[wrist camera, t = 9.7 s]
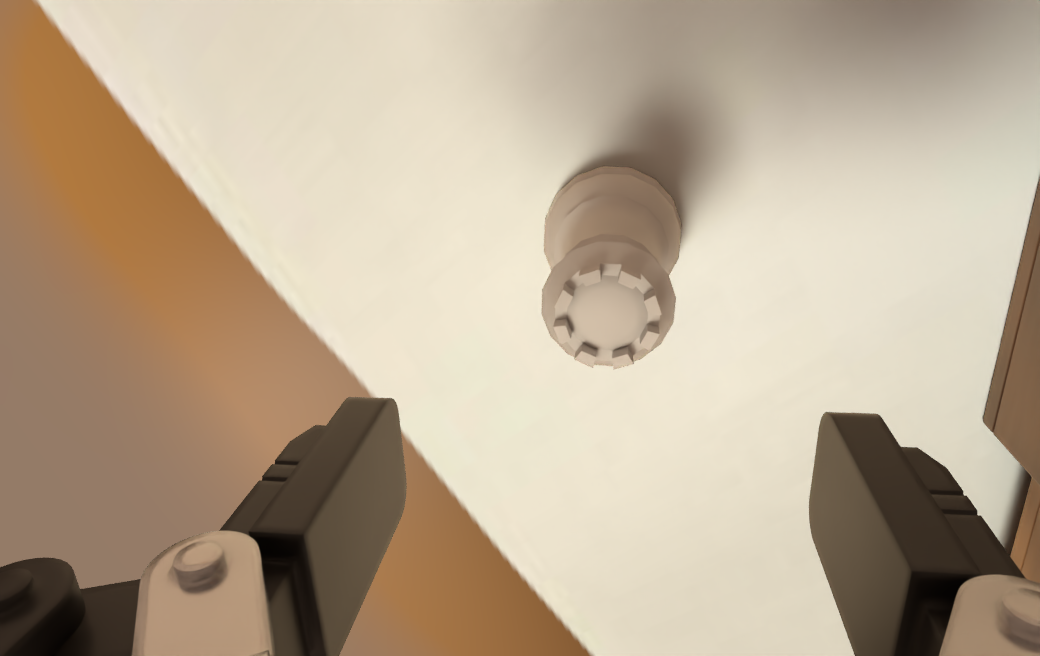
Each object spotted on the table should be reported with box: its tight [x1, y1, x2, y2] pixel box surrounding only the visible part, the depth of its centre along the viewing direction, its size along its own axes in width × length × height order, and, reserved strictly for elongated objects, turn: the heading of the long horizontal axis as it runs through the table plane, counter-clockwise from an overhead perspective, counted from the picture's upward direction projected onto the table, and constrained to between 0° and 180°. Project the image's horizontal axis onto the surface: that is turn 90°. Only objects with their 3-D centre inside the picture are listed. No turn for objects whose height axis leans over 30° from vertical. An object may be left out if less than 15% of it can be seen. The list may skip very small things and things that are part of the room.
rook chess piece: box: [542, 166, 681, 369], centre depth 21 cm, size 4×4×8 cm
